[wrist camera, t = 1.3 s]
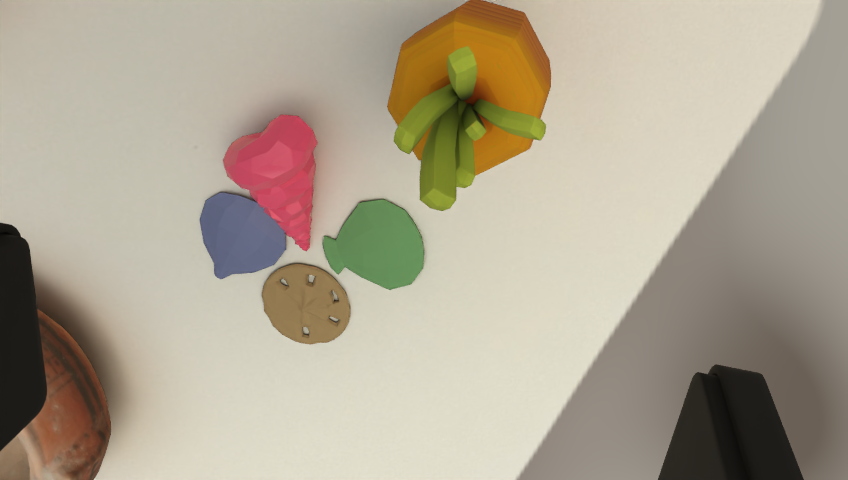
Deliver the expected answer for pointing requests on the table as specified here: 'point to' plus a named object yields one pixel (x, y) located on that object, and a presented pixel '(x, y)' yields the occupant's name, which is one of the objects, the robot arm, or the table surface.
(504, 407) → the table surface
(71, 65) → the table surface
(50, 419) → the bowl
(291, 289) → the toy pieces
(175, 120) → the table surface
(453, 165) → the carrot
